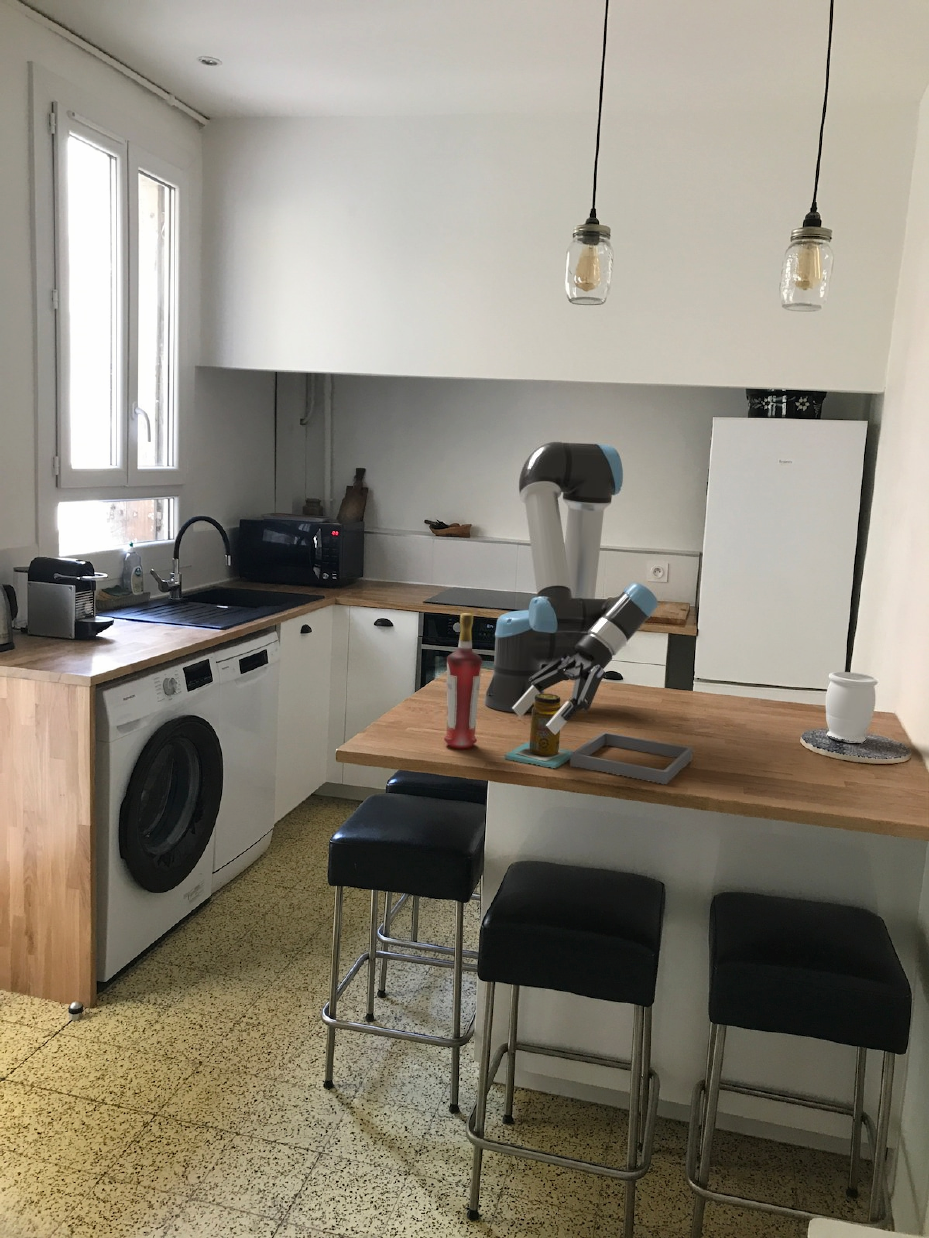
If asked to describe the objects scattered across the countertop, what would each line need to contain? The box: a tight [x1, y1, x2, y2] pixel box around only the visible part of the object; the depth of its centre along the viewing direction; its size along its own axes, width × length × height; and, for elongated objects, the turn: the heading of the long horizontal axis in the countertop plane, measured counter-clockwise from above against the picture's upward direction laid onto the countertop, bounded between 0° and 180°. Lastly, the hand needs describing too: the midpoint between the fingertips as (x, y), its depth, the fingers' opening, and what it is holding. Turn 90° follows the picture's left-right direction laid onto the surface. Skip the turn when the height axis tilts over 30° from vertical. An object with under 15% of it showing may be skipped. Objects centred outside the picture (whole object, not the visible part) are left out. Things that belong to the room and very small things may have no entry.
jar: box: [825, 671, 879, 742], centre depth 223 cm, size 11×10×15 cm
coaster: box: [504, 742, 575, 769], centre depth 198 cm, size 11×11×1 cm
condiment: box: [515, 693, 566, 761], centre depth 197 cm, size 7×8×12 cm
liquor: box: [443, 613, 483, 750], centre depth 201 cm, size 7×7×28 cm
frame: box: [569, 731, 694, 785], centre depth 198 cm, size 20×20×2 cm
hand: (532, 721), depth 196 cm, fingers open, 13 cm apart
